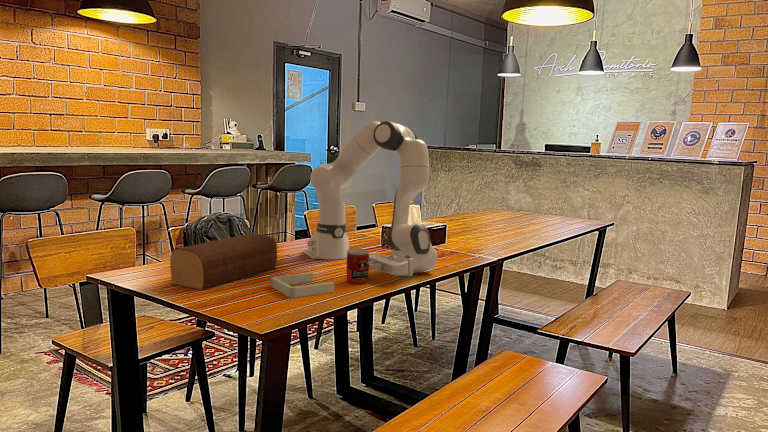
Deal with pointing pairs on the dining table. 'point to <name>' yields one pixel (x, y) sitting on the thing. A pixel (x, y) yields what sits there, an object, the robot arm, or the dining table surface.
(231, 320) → the dining table surface
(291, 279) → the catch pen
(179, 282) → the bread
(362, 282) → the canned food
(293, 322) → the dining table surface
